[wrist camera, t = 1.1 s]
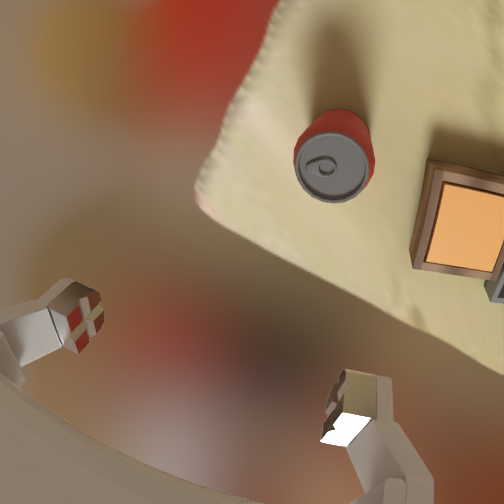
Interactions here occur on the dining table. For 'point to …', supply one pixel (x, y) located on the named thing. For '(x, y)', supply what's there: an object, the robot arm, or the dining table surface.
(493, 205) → the orange square panel
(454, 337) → the dining table surface
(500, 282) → the tray
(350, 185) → the beer can
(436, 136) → the dining table surface
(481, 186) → the checker stand
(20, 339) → the robot arm
